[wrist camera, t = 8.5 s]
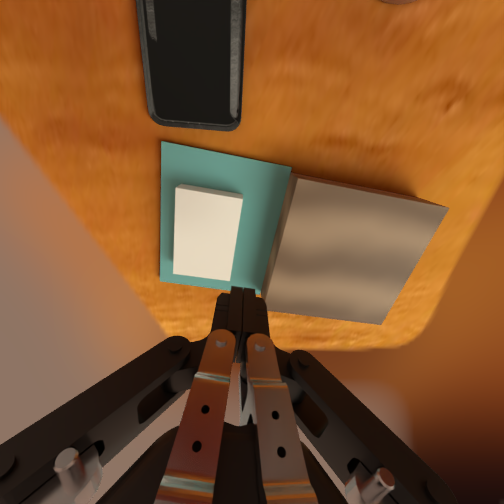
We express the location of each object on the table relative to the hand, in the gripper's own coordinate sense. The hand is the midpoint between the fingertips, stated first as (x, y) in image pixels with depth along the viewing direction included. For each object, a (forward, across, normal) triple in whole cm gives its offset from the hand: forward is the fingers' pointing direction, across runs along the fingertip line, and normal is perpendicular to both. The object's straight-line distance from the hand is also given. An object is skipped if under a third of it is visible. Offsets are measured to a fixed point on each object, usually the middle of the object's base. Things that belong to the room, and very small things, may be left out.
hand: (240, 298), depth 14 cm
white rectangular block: (+10, +4, +1) cm, 11 cm away
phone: (+13, +6, -16) cm, 21 cm away
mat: (+12, +3, 0) cm, 12 cm away
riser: (+12, -10, +1) cm, 16 cm away
